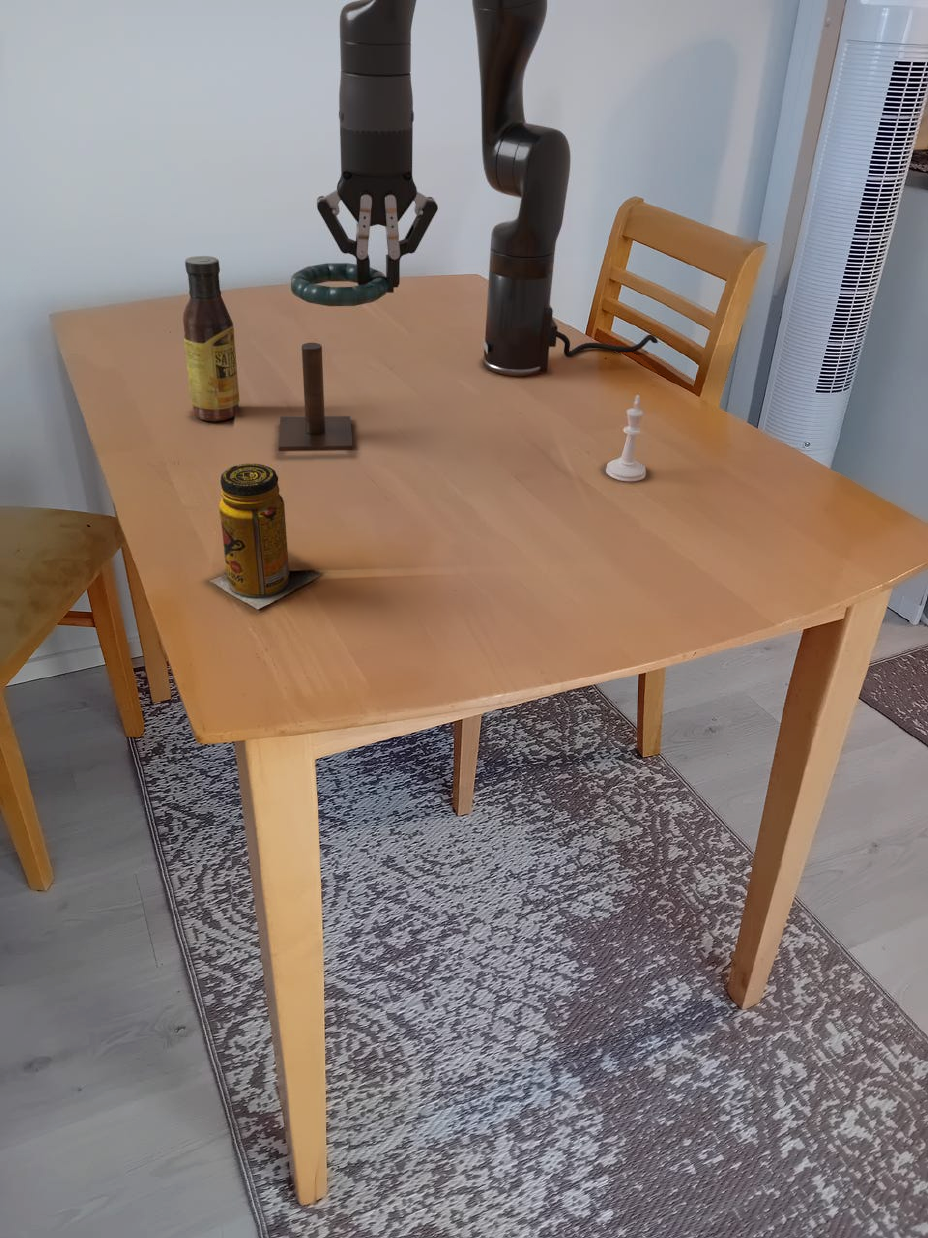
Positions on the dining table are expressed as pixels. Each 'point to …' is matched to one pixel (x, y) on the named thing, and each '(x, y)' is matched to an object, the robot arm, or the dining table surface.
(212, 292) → the sauce bottle
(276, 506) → the condiment
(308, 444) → the peg stand
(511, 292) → the robot arm
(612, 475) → the chess piece
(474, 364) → the dining table surface
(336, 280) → the ring
